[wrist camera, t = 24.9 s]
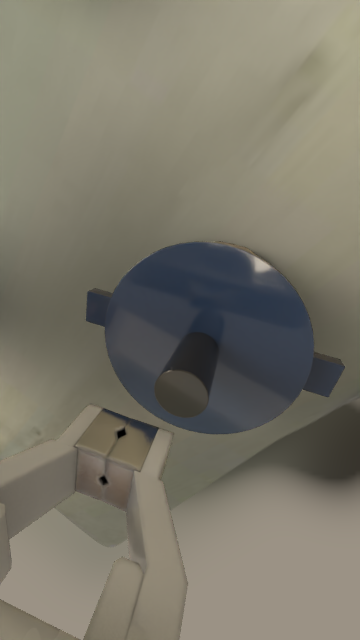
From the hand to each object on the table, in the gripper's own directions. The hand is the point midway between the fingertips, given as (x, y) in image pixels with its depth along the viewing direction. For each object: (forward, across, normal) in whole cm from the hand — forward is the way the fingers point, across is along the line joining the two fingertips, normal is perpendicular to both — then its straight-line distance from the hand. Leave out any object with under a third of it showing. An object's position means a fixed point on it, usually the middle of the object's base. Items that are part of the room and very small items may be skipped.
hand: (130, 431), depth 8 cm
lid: (+8, -1, 0) cm, 8 cm away
